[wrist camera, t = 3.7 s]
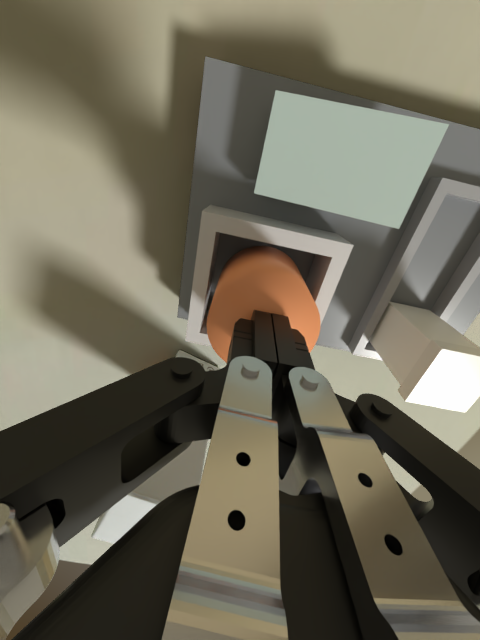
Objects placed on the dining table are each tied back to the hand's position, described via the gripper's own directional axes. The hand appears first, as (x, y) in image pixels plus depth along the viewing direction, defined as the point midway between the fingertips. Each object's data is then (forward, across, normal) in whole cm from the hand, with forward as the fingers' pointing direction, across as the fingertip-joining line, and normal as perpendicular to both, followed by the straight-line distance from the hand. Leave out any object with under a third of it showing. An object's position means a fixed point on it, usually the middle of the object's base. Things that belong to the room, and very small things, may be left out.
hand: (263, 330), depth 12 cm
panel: (+9, -5, -3) cm, 11 cm away
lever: (+6, -10, +1) cm, 12 cm away
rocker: (+4, -2, -7) cm, 8 cm away
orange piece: (+5, 0, 0) cm, 5 cm away
